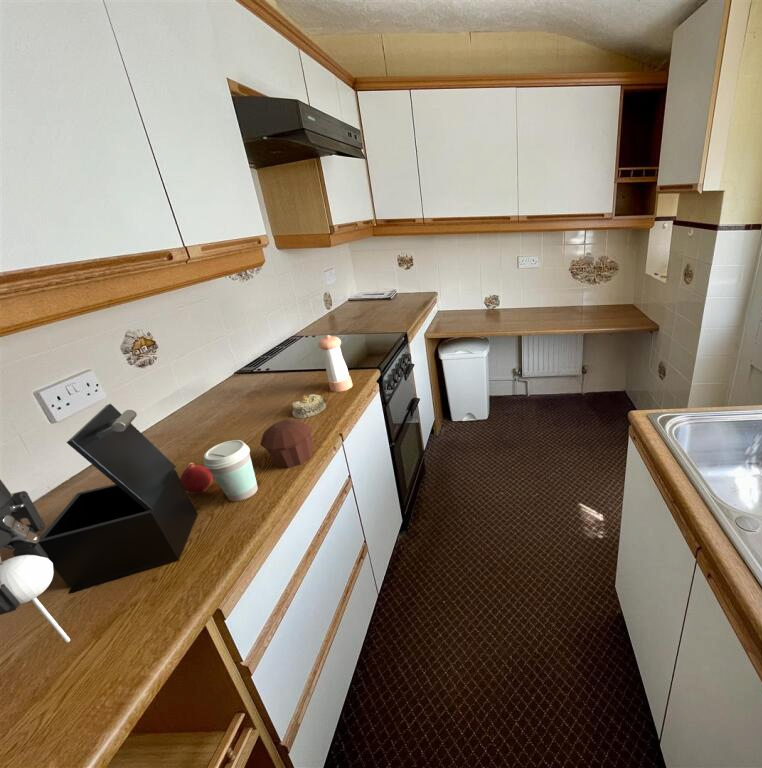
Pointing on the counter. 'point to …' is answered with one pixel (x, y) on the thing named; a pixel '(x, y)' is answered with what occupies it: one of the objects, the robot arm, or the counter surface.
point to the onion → (196, 478)
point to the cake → (308, 406)
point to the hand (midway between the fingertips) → (24, 588)
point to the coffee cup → (232, 469)
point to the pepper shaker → (335, 364)
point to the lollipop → (30, 582)
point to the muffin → (288, 442)
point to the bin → (117, 534)
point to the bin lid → (124, 455)
